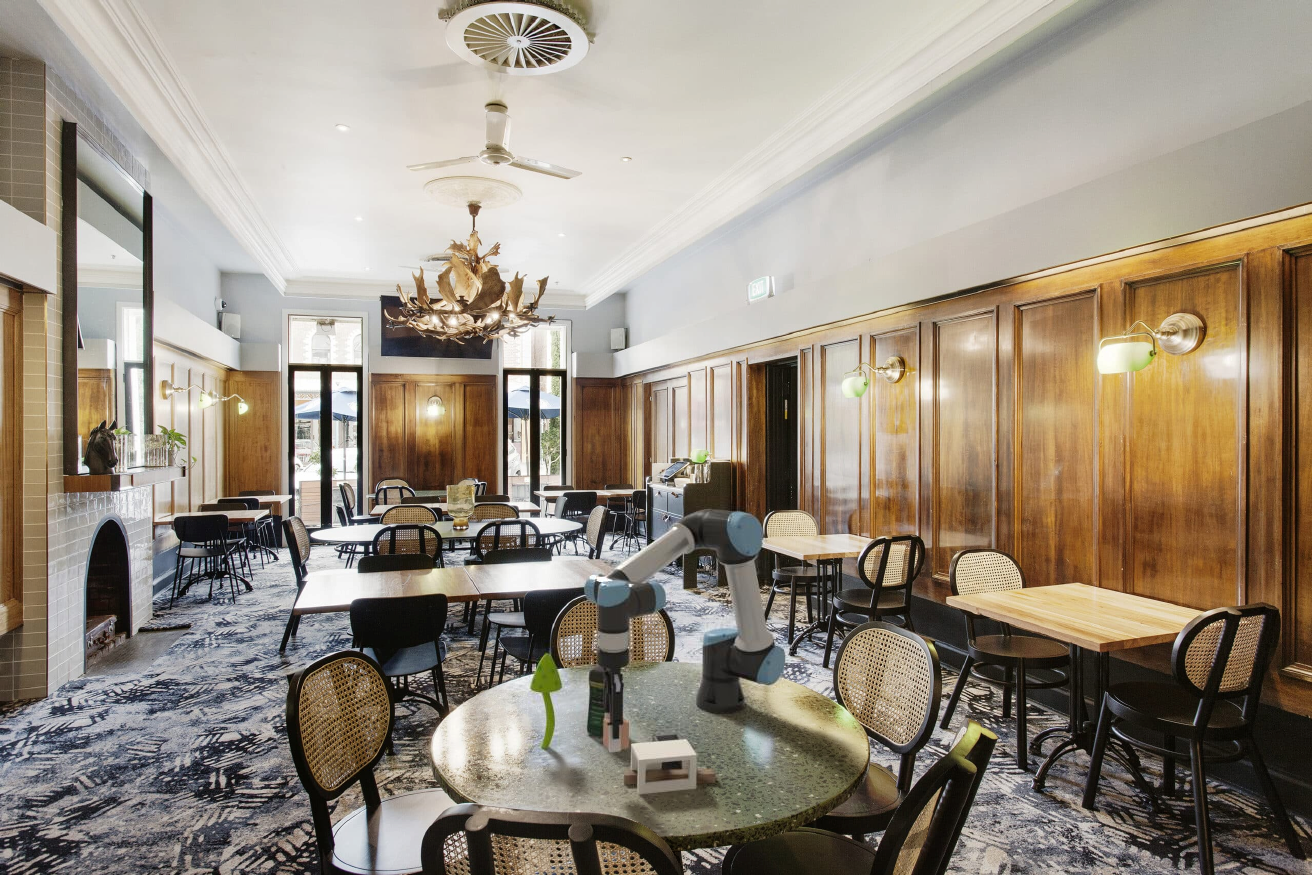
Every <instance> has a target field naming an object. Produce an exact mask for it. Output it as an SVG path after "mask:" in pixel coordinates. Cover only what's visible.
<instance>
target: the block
mask: <svg viewBox="0 0 1312 875" xmlns="http://www.w3.org/2000/svg"><path fill="white" fill-rule="evenodd" d="M607 722H610V718H607V719H603V737H602V738H603V739H602V745H603V746H605V748H606V749H608V750H609V726H607ZM629 746H630V722H629V721H628V720H627V719H625V717H623V725H621V750H625V749H628V748H629Z"/></svg>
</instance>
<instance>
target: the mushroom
mask: <svg viewBox="0 0 1312 875" xmlns="http://www.w3.org/2000/svg"><path fill="white" fill-rule="evenodd" d="M555 663H556V662H555V661H554V660H553V657H552V656H551V655H550V654H549V653H547V652H546V653H545V654H544V655H543V656H542V657H541V659H540V661H539V662H538V664H537V667H536V668H535V671H534V673H533V677H532V680H531V682H530V685H529V689H530V690H531V691H532V692H535V693H541V695H542V698H543V702H544V708H545V715H546V716H545V717H546V722H545V723H546V725H545V731H544V736H543V739H542V740H543V741H542V744H541V749H545V750H546V749H548V748H549V746H550V744H551V741H552V738H553V735H554V734H555V733H554V732H555V729H556V728H555V727H556V726H555V725H556V717H555V710H554V705H553V701H552V697H551V694H550V693H554V692H557V691H560V690H561V689H563V684H562V681H561V680H562V679H561V676H560V672H559V671H558V667H557V665H556V664H555Z"/></svg>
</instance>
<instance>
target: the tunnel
mask: <svg viewBox="0 0 1312 875" xmlns="http://www.w3.org/2000/svg"><path fill="white" fill-rule="evenodd" d="M697 756H698V754H697V753H696V752H695V750H694V749H693V747H692V744H690V743H689V741H688V739H686V738H684V739H683V738H682V737H681V735H680V734H679V733H678V732H677V733H676V732H675V733H667V734H666V733H664V734H653V735H652V741H648V742H647V741H646V742H636V743H630V770H638V777H637V784H636V789H637V791H636V792H637V795H647V794H655V793H667V792H676V791H685V790H686V791H687V790H696V789H697V783H696V769H698V768H697V764H698V762H697V760H698V759H697V758H698V757H697ZM688 769H689V771H688V778H687V779H677V780H667V781H657V782H647V783H645V770H688Z"/></svg>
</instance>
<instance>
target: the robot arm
mask: <svg viewBox="0 0 1312 875" xmlns="http://www.w3.org/2000/svg"><path fill="white" fill-rule="evenodd" d="M667 530H668V531H667V532H665V533H664V534H663V535H661V536H660V537H658V538H657V539H656V540H654V541H652V542H651V543H650V544H648V545H647V546H646V547H644V548H642V549H641V550H640V551H638V552H636V553H635V554H634V555H632V556H631V557H630V558H627V559H626V560H624V562H622V563H620V564H619V565H617V566H616V567H615V568H613V569H612V570H610V571H608V572H607V573H606V574H602V573H598V574H592V575H590V576H589V577H588V578H587V580H586V581H585V584H584V587H583V588H584V589H583V591H584V595H585V598H586V600H587V601H589V602H590V603H593V604H594V605H595V604H596V605H597V633H598V634H595V635H594V636H595V638H594V639H597V647H598V649H597V650H596V651H597V652H596V654H597V657H596V661H597V662H596V663H597V666H601V667H603V672H604V674H603V675H604V685H603V706H605V708H604V711H605V712H606V713H605V719H607V718H610V722H607V726H609V749H608V753H616V752H617V753H619V752H621V751H622V749H621V725H623V718H624V688H625V687H624V686H625V683H624V682H623V680H624V674H623V672H621V671H622V670H621V671H620V669H622V668H625V667H627V666H628V665H629V663H630V649H629V647H630V633H631V632H630V623H631V622H630V620H631V619H635V618H638V617H642V616H647V615H652V614H654V613H657V612H658V611H661V610H662V609H663V608H664V607H665V605H666V603H667V602H666V601H667V594H666V590H665V588H664V587H663V586H662V585H661V584H660V582H657V581H648V580H649V579H650V578H652V577H653V576H655V575H656V574H658V573H659V572H661V571H662V570H663V569H665V567H667V566H668V565H671V563H673V562H674V561H675V560H676V559H678V558H679V557H681V555H683V554H685V555H688V554H691V553H692V552H693V551H695V550H699V549H700V550H701V549H706V550H707V549H708V550H713V551H716V556H717V560H718V562H719V563H720V564H721V565H723V566H724V570H725V573H726V579H727V584H728V590H729V595H730V599H731V605H732V609H733V615H734V620H735V626H736V628H729V627H728V628H716V629H711V630H708V631H706V632H705V633H704V634H703V639H702V645H701V646H702V678H701V681H700V684H699V687H698V690H697V692H696V698H695V700H696V701H695V703H696V706H697V708H700V709H701V710H702V711H703V710H704V711H707V712H710V713H714V714H733V713H737V712H739V711H742V710H744V708H745V706H746V705H745V702H746V699H745V694H744V691H743V688H742V685H741V681H740V680H741V679H742V680H746V681H750V682H753V683H756V684H757V685H766V686H772V685H774V684H775V683H777V681H778V680H779V679H780V677H781V676H782V674H783V671H784V669H785V665H786V664H785V663H786V652H785V650H784V649H783V647H781V646H780V645H776V642H775V638H774V634H773V633H772V632H771V631H769V630H768V628H767V623H766V617H765V612H764V607H763V606H764V605H763V601H762V596H761V590H760V586H759V581H758V580H759V579H758V575H757V570H756V563H755V560H756V559H757V558H758V556H759V552H760V551H761V549H762V546H763V543H764V542H763V540H764V531H763V526H762V524H761V522H760V520H759V519H758V518H757V517H756V516H755V515H753V514H751V513H748V512H744V511H741V510H736V511H734V510H733V511H731V510H725V509H724V510H722V509H715V508H714V509H713V508H705V509H701V510H697V511H695V512H693V513H690V514H688V515H686V516H684V517H682V518H680V519H679V520H677V521H676V522H674V523H673V524H671V525H670V526H669V528H668V529H667Z"/></svg>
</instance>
